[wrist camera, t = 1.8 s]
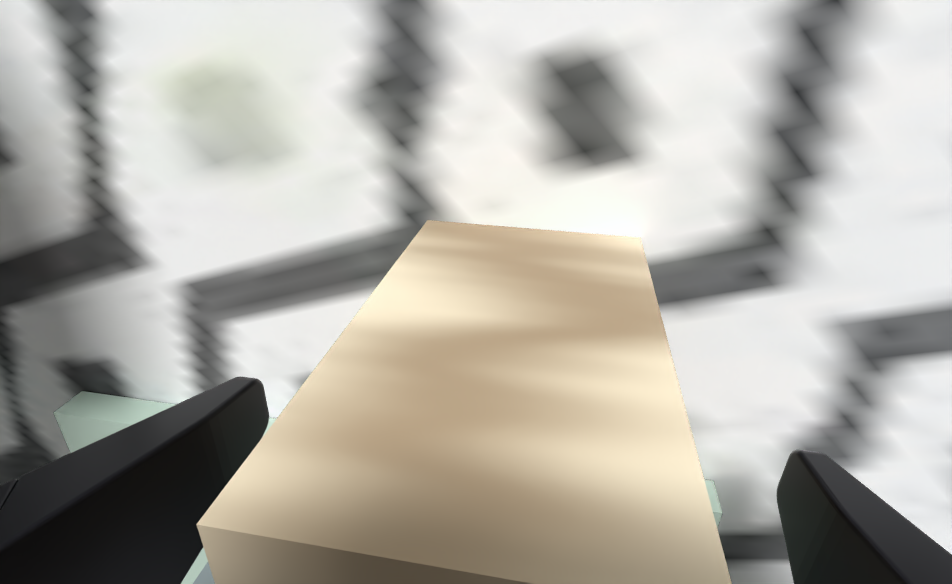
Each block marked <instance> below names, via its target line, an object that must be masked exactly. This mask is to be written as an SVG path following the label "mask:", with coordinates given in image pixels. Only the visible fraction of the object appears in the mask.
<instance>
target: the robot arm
mask: <svg viewBox="0 0 952 584" xmlns="http://www.w3.org/2000/svg"><path fill="white" fill-rule="evenodd" d="M268 422H269V412H268V407H267V402H266V397H265V392H264V387H263V384H262V382H261V381H260V380H258V379H255V378H248V377H236V378H233V379H231V380H229V381H227V382H225V383H222V384H220V385H218V386H216V387H214V388H211V389H209V390H207V391H205V392H203V393H201V394H198V395H196V396H194V397H192V398H190V399H187V400H185V401H183V402H181V403H179V404H177V405H174V406H172V407H170V408H168V409H166V410H163V411H161V412H159V413H157V414H155V415H153V416H150V417H148V418H146V419H144V420H142V421H139V422H137V423H135V424H133V425H131V426H129V427H126V428H124V429H122V430H120V431H118V432H115V433H113V434H111V435H109V436H107V437H105V438H102V439H100V440H98V441H96V442H94V443H91V444H89V445H87V446H85V447H83V448H81V449H78V450H76V451H74V452H72V453H70V454H67V455H65V456H63V457H61V458H59V459H56V460H54V461H52V462H50V463H48V464H46V465H43V466H41V467H39V468H37V469H35V470H32V471H30V472H28V473H26V474H24V475H22V476H21V477H20V478H19V479H12V480H10V481H8V482H6V483H4V484H2V485H0V584H181V583H182V581H183V579H184V578H185V576H186V574H187V573H188V571H189V570H190V568H191V566H192V565H193V563H194V561H195V560H196V558H197V557H198V555H199V553H200V552H201V550H202V548H203V544H202V541H201V537H200V534H199V531H198V528H197V525H196V524H197V523H198V522H199V520H200V519H201V518H202V516H203V515H204V514H205V512H206V511H207V510H208V508H209V507H210V506H211V505H212V503H213V502H214V501H215V499H216V498H217V497H218V495H219V494H220V493H221V491H222V490H223V489H224V487H225V486H226V485H227V483H228V482H229V481H230V480H231V478H232V477H233V476H234V474H235V473H236V472H237V470H238V469H239V468H240V466H241V465H242V464H243V462H244V461H245V460H246V459H247V457H248V456H249V455H250V453H251V452H252V451H253V449H254V448H255V447H256V445H257V444H258V443H259V441H260V440H261V439H262V437H263V435H264V433H265V431H266V428H267V426H268ZM777 503H778V508H779V513H780V518H781V523H782V528H783V532H784V537H785V542H786V547H787V552H788V557H789V561H790V566H791V571H792V576H793V581H794V584H952V555H951V554H950V553H949V552H948V551H946V550H945V549H944V548H943V547H941V546H940V545H939V544H938V543H936V542H935V541H934V540H932V539H931V538H930V537H929V536H927V535H926V534H925V533H924V532H922V531H921V530H920V529H919V528H917V527H916V526H915V525H914V524H912V523H911V522H910V521H909V520H907V519H906V518H905V517H904V516H902V515H901V514H900V513H899V512H897V511H896V510H895V509H893V508H892V507H891V506H890V505H888V504H887V503H886V502H885V501H883V500H882V499H881V498H880V497H878V496H877V495H876V494H875V493H873V492H872V491H871V490H870V489H868V488H867V487H866V486H865V485H863V484H862V483H861V482H860V481H858V480H857V479H856V478H854V477H853V476H852V475H851V474H849V473H848V472H847V471H846V470H844V469H843V468H842V467H841V466H839V465H838V464H837V463H836V462H834V461H833V460H832V459H831V458H829V457H828V456H827V455H825V454H823V453H821V452H815V451H807V450H799V449H798V450H794V451H793V452H792V453H791V454H790V456H789V458H788V461H787V463H786V466H785V469H784V471H783V474H782V476H781V479H780V482H779V484H778V488H777Z"/></svg>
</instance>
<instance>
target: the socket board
mask: <svg viewBox="0 0 952 584" xmlns="http://www.w3.org/2000/svg"><path fill="white" fill-rule="evenodd" d="M174 405H177V404H170V403H162V402H155V401H148V400H141V399H134V398H127V397H120V396H113V395H106V394H99V393H92V392H85V391H81V392H80V393H79V394H77V395H76V396H75V397H73V398H72V399H71V400H69V401H68V402H67V403H65V404H64V405H63V406H61V407H60V408H59V409H57V410H56V411H55V412H53V413H54V416H55V418H56V420H57V423H58V425H59V427H60V430H61V432H62V434H63V437H64V439H65V441H66V443H67V446H68V448H69V450H70V453H72V452H74V451H76V450H78V449H81V448H83V447H85V446H87V445H89V444H91V443H94V442H96V441H98V440H100V439H102V438H105V437H107V436H109V435H111V434H113V433H115V432H118V431H120V430H122V429H124V428H126V427H129V426H131V425H133V424H135V423H137V422H139V421H142V420H144V419H146V418H148V417H150V416H153V415H155V414H157V413H159V412H161V411H163V410H166V409H168V408H170V407H172V406H174ZM275 420H276V419H275V418H269V422H268V426H267V428H266V431H265V433H264V435H265V434H266V432H267V431H268V430H269V428H270V427H271V426H272V424H273V423H274V422H275ZM264 435H263V436H264ZM705 484H706V488H707V492H708V495H709V499H710V503H711V507H712V511H713V514H714V518H715V522H716V526H717V529H718V526H719V523H720V519H721V516H722V509H721V506H720V502H719V499H718V495H717V492H716V488H715V484H714V481H711V480H705ZM181 584H215V582H214V579H213V576H212V572H211V569H210V566H209V563H208V560H207V557H206V553H205V550H204V547H203V548H202V550H201V552H200V553H199V555H198V557H197V558H196V560H195V561H194V563H193V565H192V566H191V568H190V570H189V571H188V573H187V574H186V576H185V578H184V579H183V581H182V583H181Z"/></svg>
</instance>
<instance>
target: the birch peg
mask: <svg viewBox="0 0 952 584" xmlns="http://www.w3.org/2000/svg"><path fill="white" fill-rule="evenodd" d="M196 525H197V528H198V531H199V534H200V537H201V541H202V544H203V547H204V550H205V553H206V557H207V560H208V563H209V566H210V569H211V572H212V576H213V579H214V582H215V584H732V583H731V579H730V575H729V571H728V567H727V564H726V560H725V556H724V552H723V549H722V545H721V541H720V537H719V533H718V530H717V526H716V522H715V518H714V514H713V511H712V507H711V503H710V499H709V495H708V492H707V488H706V484H705V480H704V476H703V473H702V469H701V465H700V461H699V458H698V454H697V450H696V446H695V442H694V439H693V435H692V431H691V427H690V423H689V420H688V416H687V412H686V408H685V404H684V401H683V397H682V393H681V389H680V385H679V382H678V378H677V374H676V370H675V367H674V363H673V359H672V355H671V351H670V348H669V344H668V340H667V336H666V332H665V329H664V325H663V321H662V317H661V313H660V310H659V306H658V302H657V298H656V295H655V291H654V287H653V283H652V279H651V276H650V272H649V268H648V264H647V260H646V257H645V253H644V249H643V245H642V241H641V238H640V237H627V236H615V235H603V234H590V233H578V232H566V231H553V230H541V229H529V228H516V227H504V226H492V225H479V224H467V223H455V222H442V221H430V220H427V222H426V223H425V224H424V226H423V227H422V228H421V230H420V231H419V232H418V234H417V235H416V236H415V238H414V239H413V240H412V241H411V243H410V244H409V245H408V247H407V248H406V249H405V251H404V252H403V253H402V255H401V256H400V257H399V259H398V260H397V261H396V263H395V264H394V265H393V266H392V268H391V269H390V270H389V272H388V273H387V274H386V276H385V277H384V278H383V280H382V281H381V282H380V284H379V285H378V286H377V288H376V289H375V290H374V291H373V293H372V294H371V295H370V297H369V298H368V299H367V301H366V302H365V303H364V305H363V306H362V307H361V309H360V310H359V311H358V313H357V314H356V315H355V316H354V318H353V319H352V320H351V322H350V323H349V324H348V326H347V327H346V328H345V330H344V331H343V332H342V334H341V335H340V336H339V338H338V339H337V340H336V341H335V343H334V344H333V345H332V347H331V348H330V349H329V351H328V352H327V353H326V355H325V356H324V357H323V359H322V360H321V361H320V362H319V364H318V365H317V366H316V368H315V369H314V370H313V372H312V373H311V374H310V376H309V377H308V378H307V380H306V381H305V382H304V384H303V385H302V386H301V387H300V389H299V390H298V391H297V393H296V394H295V395H294V397H293V398H292V399H291V401H290V402H289V403H288V405H287V406H286V407H285V409H284V410H283V411H282V412H281V414H280V415H279V416H278V418H277V419H276V420H275V422H274V423H273V424H272V426H271V427H270V428H269V430H268V431H267V432H266V434H265V435H264V436H263V437H262V439H261V440H260V441H259V443H258V444H257V445H256V447H255V448H254V449H253V451H252V452H251V453H250V455H249V456H248V457H247V459H246V460H245V461H244V462H243V464H242V465H241V466H240V468H239V469H238V470H237V472H236V473H235V474H234V476H233V477H232V478H231V480H230V481H229V482H228V483H227V485H226V486H225V487H224V489H223V490H222V491H221V493H220V494H219V495H218V497H217V498H216V499H215V501H214V502H213V503H212V505H211V506H210V507H209V508H208V510H207V511H206V512H205V514H204V515H203V516H202V518H201V519H200V520H199V522H198V523H197V524H196Z"/></svg>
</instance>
